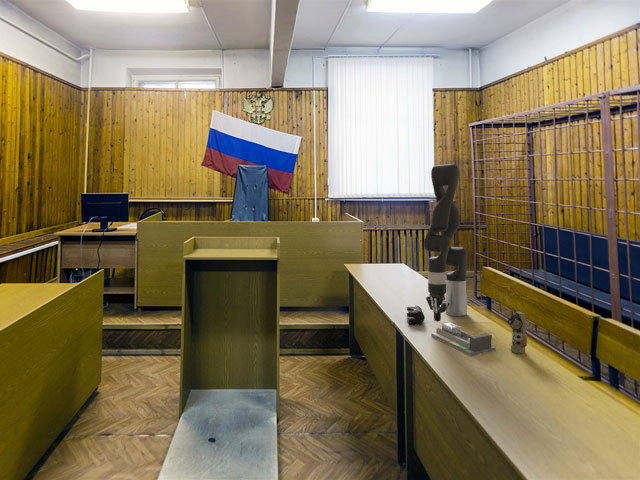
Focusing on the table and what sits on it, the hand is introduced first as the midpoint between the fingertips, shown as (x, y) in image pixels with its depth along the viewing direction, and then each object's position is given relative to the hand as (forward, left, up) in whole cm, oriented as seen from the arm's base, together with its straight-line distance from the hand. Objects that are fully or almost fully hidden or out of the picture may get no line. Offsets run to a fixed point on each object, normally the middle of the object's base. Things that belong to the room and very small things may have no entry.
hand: (437, 320), depth 160 cm
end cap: (+1, -14, -5) cm, 15 cm away
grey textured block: (0, +10, -3) cm, 10 cm away
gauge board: (0, +15, -4) cm, 16 cm away
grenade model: (-11, +31, -5) cm, 33 cm away
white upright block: (0, +22, -3) cm, 22 cm away
